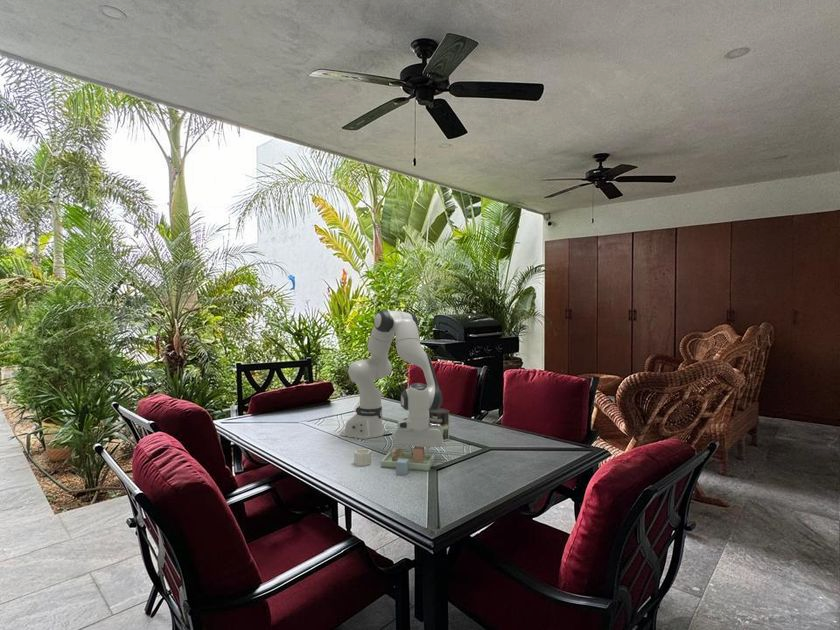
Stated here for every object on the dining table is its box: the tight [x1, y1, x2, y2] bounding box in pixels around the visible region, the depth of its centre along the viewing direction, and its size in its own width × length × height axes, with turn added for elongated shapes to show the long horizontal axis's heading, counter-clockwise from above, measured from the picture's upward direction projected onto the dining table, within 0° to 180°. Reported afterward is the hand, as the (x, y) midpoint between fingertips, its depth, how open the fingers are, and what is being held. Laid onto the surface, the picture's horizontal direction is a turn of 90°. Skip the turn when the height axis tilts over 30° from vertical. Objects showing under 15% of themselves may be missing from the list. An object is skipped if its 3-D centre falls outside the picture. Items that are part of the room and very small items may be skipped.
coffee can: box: [429, 407, 450, 442], centre depth 219 cm, size 10×10×14 cm
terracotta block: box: [412, 446, 425, 462], centre depth 182 cm, size 4×4×5 cm
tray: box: [380, 451, 435, 472], centre depth 183 cm, size 20×12×3 cm, turn 78°
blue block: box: [395, 459, 409, 476], centre depth 174 cm, size 4×4×5 cm
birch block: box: [391, 447, 405, 462], centre depth 184 cm, size 4×4×5 cm
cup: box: [353, 448, 372, 467], centre depth 184 cm, size 7×7×5 cm
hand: (418, 455), depth 182 cm, fingers closed on terracotta block, 4 cm apart
